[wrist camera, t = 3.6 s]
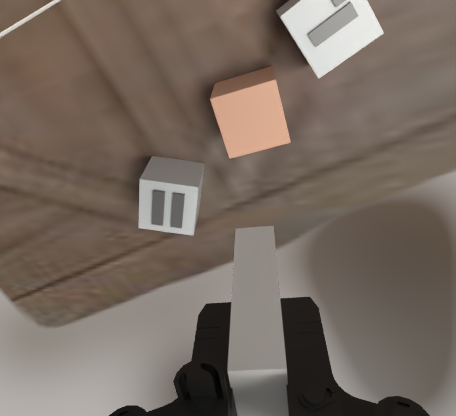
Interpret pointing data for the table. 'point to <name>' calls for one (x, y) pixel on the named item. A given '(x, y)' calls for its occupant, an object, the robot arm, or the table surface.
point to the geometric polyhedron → (28, 18)
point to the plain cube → (250, 112)
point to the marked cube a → (170, 195)
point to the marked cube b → (329, 29)
